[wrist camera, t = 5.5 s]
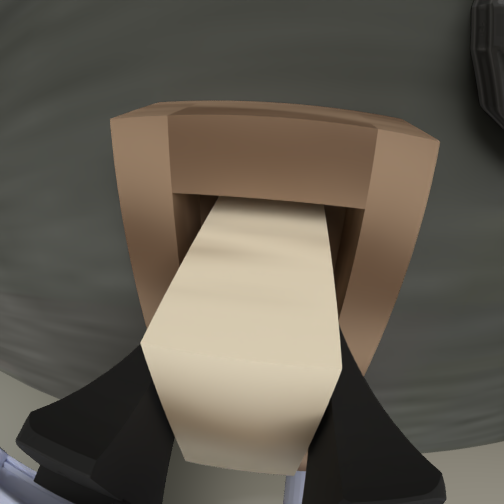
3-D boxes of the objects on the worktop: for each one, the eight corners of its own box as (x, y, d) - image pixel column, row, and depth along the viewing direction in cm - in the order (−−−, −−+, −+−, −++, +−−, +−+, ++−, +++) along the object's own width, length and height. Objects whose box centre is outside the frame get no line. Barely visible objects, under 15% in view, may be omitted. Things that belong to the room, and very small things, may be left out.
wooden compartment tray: (312, 431, 25) (311, 471, 21) (200, 418, 26) (189, 456, 22) (401, 118, 11) (440, 141, 8) (159, 102, 12) (109, 119, 9)
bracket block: (302, 327, 16) (294, 476, 9) (225, 318, 17) (185, 461, 10) (322, 199, 12) (342, 368, 6) (222, 191, 13) (139, 343, 6)
